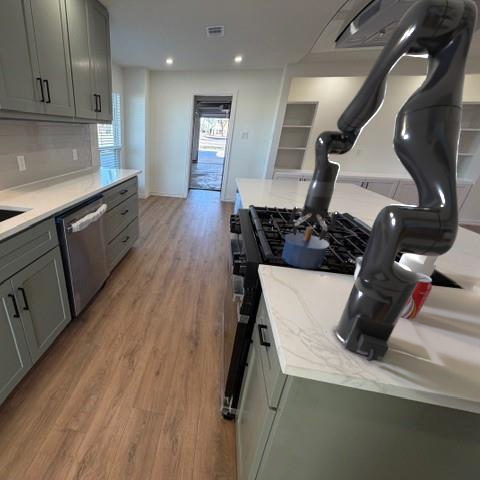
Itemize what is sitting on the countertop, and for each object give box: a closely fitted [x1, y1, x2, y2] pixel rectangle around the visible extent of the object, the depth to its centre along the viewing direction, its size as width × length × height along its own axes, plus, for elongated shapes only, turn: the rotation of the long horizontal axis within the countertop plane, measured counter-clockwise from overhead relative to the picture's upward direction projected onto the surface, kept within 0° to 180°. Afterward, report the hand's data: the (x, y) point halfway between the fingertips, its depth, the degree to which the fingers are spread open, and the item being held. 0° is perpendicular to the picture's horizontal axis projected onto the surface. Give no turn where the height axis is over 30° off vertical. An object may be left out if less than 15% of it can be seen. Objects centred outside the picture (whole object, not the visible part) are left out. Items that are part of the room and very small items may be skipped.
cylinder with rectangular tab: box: [398, 253, 439, 278], centre depth 89 cm, size 9×9×12 cm
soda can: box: [400, 271, 433, 320], centre depth 68 cm, size 7×7×12 cm
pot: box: [281, 240, 328, 270], centre depth 96 cm, size 14×14×8 cm
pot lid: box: [284, 226, 330, 250], centre depth 93 cm, size 15×15×6 cm
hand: (307, 237), depth 94 cm, fingers open, 8 cm apart
